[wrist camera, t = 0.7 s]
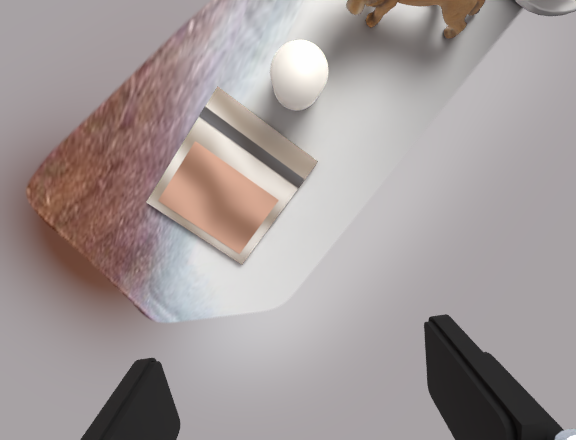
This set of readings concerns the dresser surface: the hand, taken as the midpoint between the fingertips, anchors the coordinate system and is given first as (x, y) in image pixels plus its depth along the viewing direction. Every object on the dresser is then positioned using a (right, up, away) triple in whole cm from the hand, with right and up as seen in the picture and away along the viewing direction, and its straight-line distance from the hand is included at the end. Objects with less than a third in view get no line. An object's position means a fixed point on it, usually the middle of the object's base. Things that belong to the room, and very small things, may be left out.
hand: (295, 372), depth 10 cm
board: (-7, +10, +23) cm, 26 cm away
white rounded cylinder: (+1, +19, +21) cm, 29 cm away
